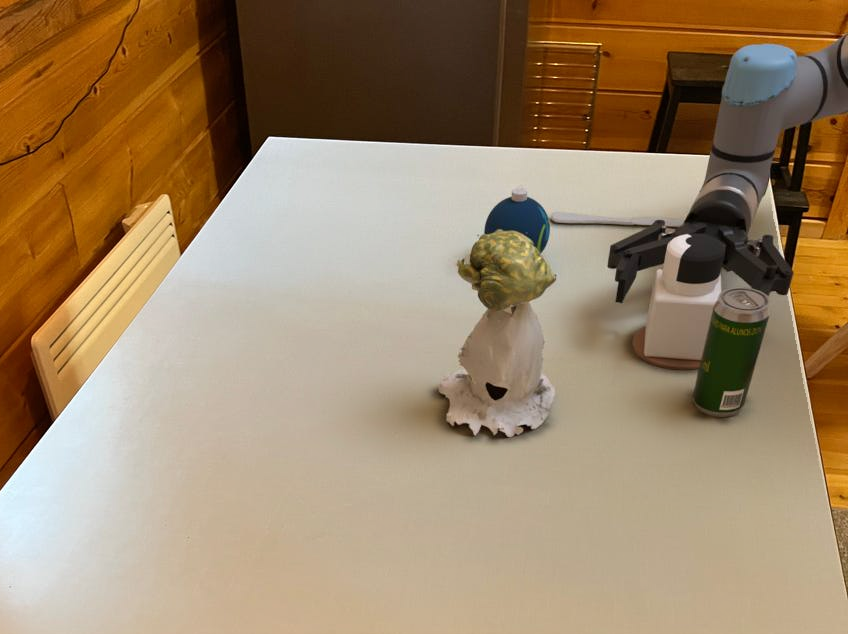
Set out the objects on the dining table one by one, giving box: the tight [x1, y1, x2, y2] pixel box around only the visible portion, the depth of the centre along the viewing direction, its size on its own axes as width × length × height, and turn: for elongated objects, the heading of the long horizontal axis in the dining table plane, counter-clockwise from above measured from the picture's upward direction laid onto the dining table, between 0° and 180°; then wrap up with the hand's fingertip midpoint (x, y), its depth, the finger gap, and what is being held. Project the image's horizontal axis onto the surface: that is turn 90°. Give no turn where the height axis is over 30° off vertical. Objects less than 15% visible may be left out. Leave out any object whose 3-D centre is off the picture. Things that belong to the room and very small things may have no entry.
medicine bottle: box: [644, 234, 726, 361], centre depth 106 cm, size 7×7×12 cm
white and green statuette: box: [438, 229, 557, 438], centre depth 98 cm, size 12×13×18 cm
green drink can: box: [692, 286, 772, 418], centre depth 98 cm, size 5×5×12 cm
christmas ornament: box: [483, 184, 551, 255], centre depth 123 cm, size 8×8×10 cm
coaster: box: [631, 326, 701, 371], centre depth 111 cm, size 10×10×1 cm
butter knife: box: [550, 211, 685, 228], centre depth 133 cm, size 1×24×3 cm
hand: (682, 301), depth 104 cm, fingers open, 13 cm apart
